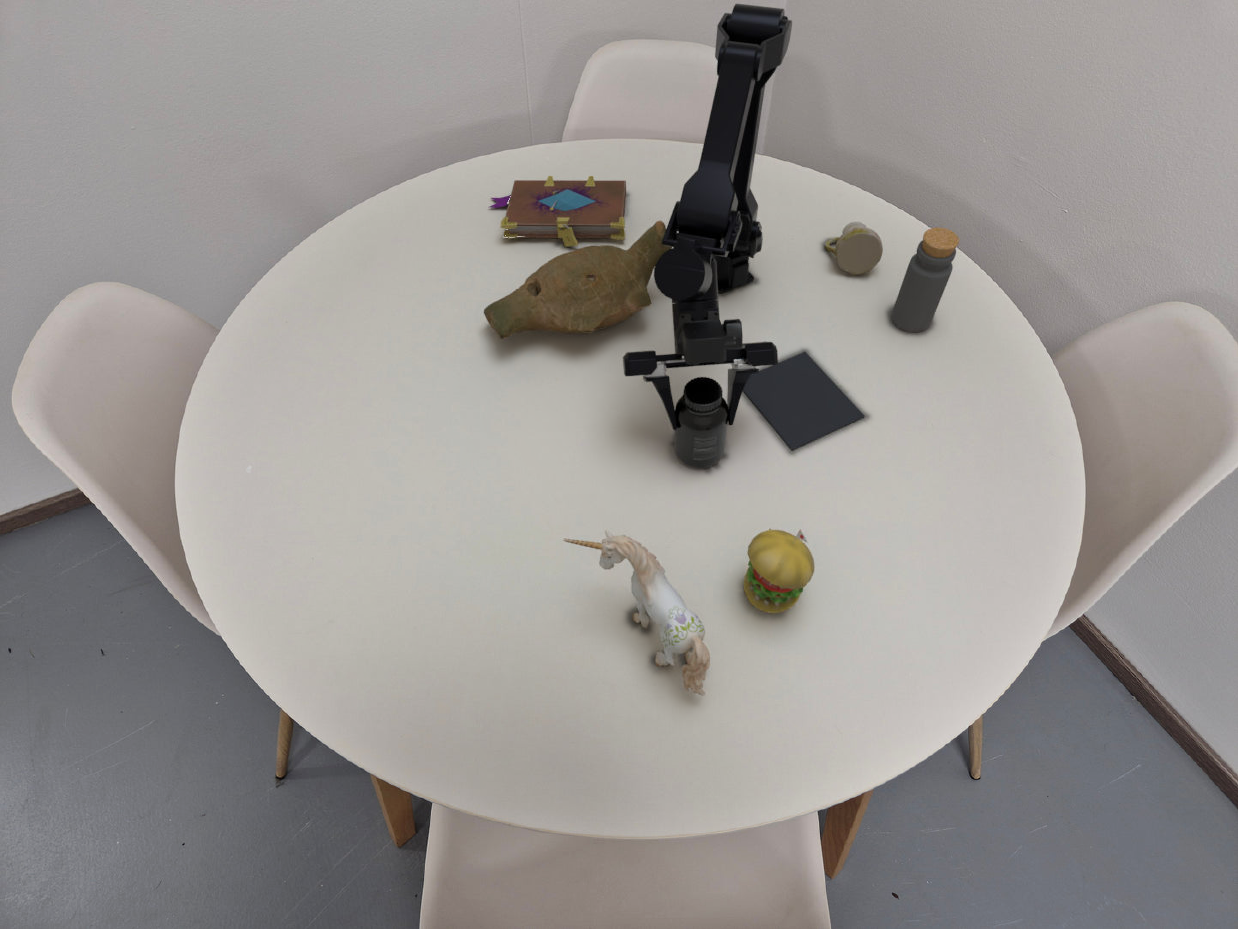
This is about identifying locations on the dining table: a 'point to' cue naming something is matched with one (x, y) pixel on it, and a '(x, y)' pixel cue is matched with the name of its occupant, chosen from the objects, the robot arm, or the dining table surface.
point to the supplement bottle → (701, 423)
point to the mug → (856, 248)
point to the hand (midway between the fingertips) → (702, 427)
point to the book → (565, 209)
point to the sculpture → (582, 289)
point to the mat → (800, 400)
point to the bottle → (925, 280)
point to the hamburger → (777, 570)
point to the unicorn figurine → (659, 606)
